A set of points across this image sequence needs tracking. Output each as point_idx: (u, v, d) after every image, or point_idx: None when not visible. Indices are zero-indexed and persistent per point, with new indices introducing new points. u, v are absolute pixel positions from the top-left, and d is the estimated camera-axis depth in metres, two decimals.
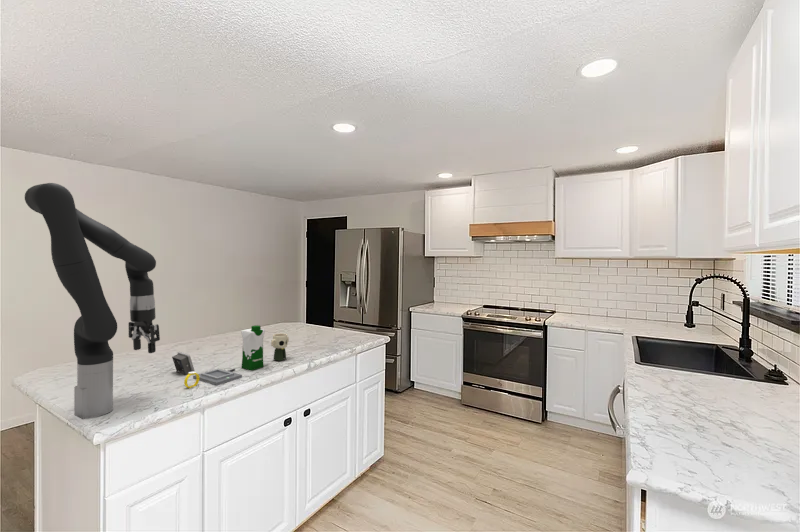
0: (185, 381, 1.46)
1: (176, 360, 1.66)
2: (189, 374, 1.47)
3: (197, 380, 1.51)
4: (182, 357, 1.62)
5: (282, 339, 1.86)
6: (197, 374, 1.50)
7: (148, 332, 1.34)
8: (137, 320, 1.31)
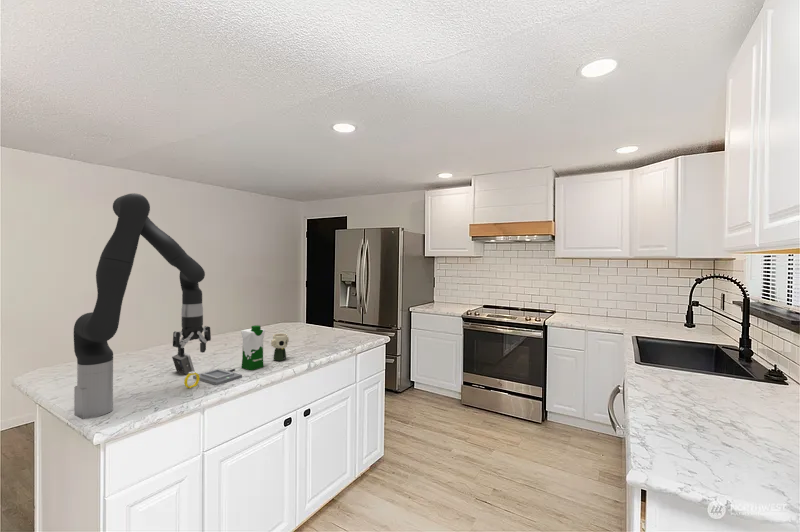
0: (185, 381, 1.46)
1: (176, 360, 1.66)
2: (189, 374, 1.47)
3: (197, 380, 1.51)
4: (182, 357, 1.62)
5: (282, 339, 1.86)
6: (197, 374, 1.50)
7: None
8: (202, 324, 1.48)
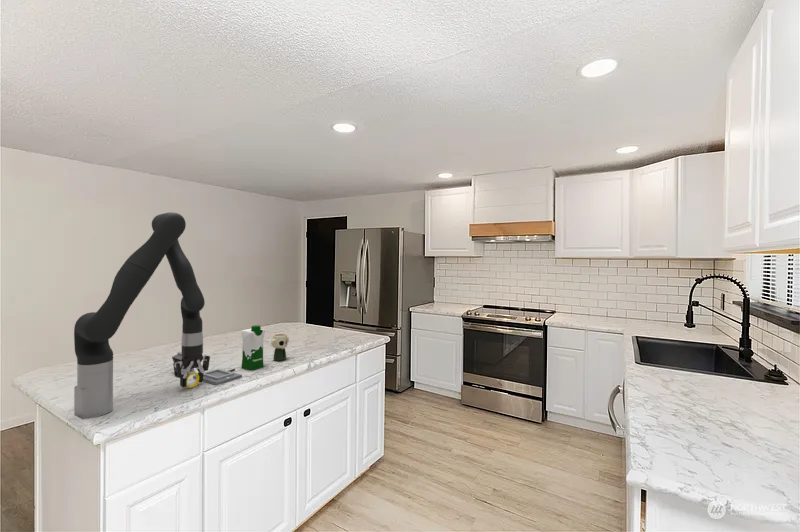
0: None
1: (176, 360, 1.66)
2: (189, 374, 1.47)
3: (197, 380, 1.51)
4: None
5: (282, 339, 1.86)
6: (197, 374, 1.50)
7: None
8: (201, 353, 1.48)
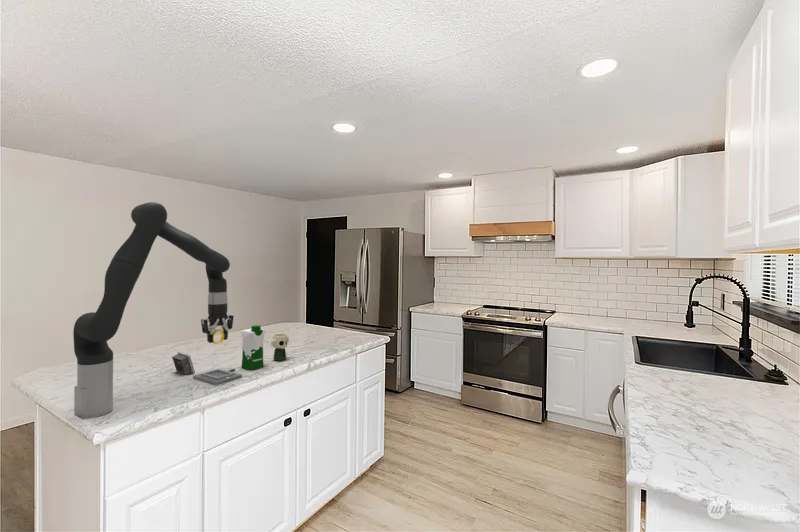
0: None
1: (176, 360, 1.66)
2: (215, 331, 1.57)
3: (222, 337, 1.61)
4: (182, 357, 1.62)
5: (282, 339, 1.86)
6: (222, 331, 1.60)
7: None
8: (226, 311, 1.59)
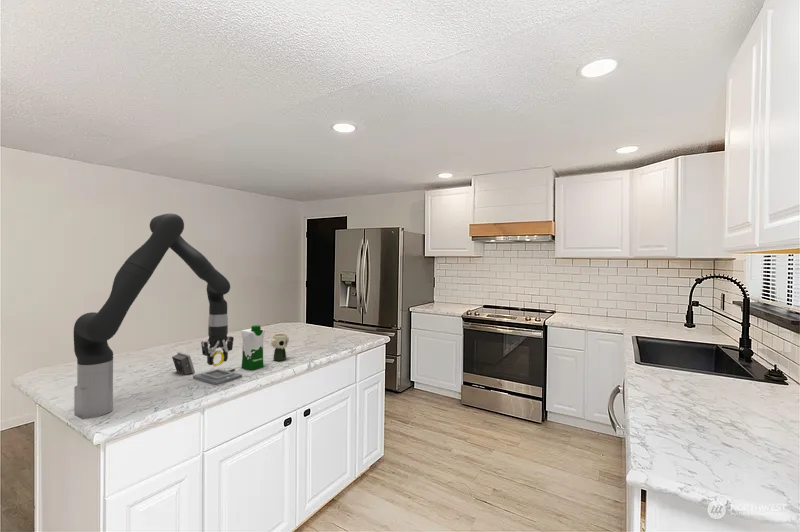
0: None
1: (176, 360, 1.66)
2: (215, 353, 1.58)
3: (222, 359, 1.61)
4: (182, 357, 1.62)
5: (282, 339, 1.86)
6: (222, 353, 1.61)
7: None
8: (226, 333, 1.59)
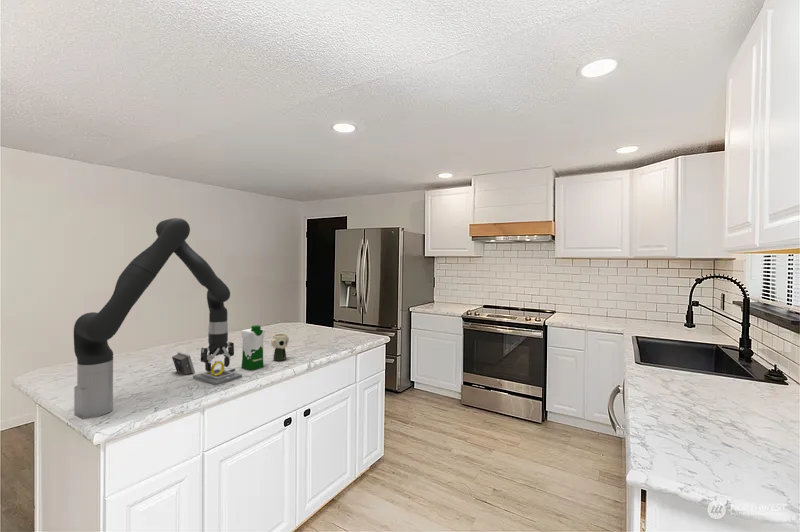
0: (212, 369, 1.56)
1: (176, 360, 1.66)
2: (215, 363, 1.58)
3: (222, 369, 1.61)
4: (182, 357, 1.62)
5: (282, 339, 1.86)
6: (222, 363, 1.61)
7: None
8: (227, 340, 1.59)
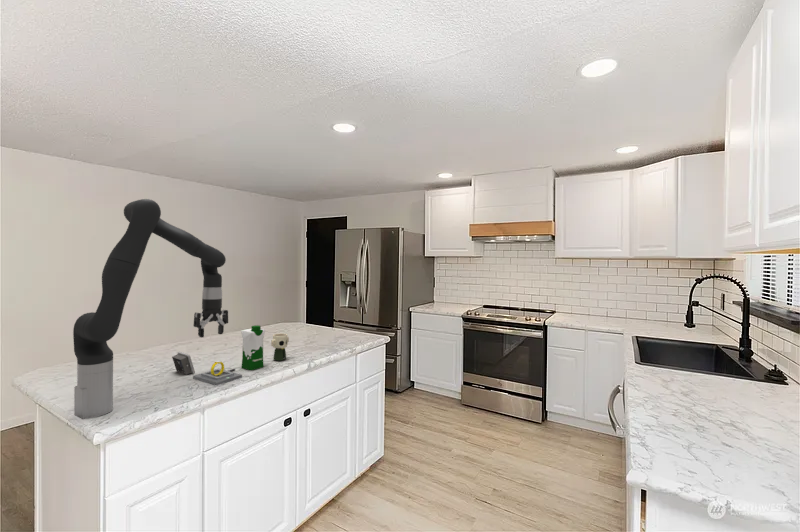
0: (212, 369, 1.56)
1: (176, 360, 1.66)
2: (215, 363, 1.58)
3: (222, 369, 1.61)
4: (182, 357, 1.62)
5: (282, 339, 1.86)
6: (222, 363, 1.61)
7: None
8: (220, 307, 1.57)
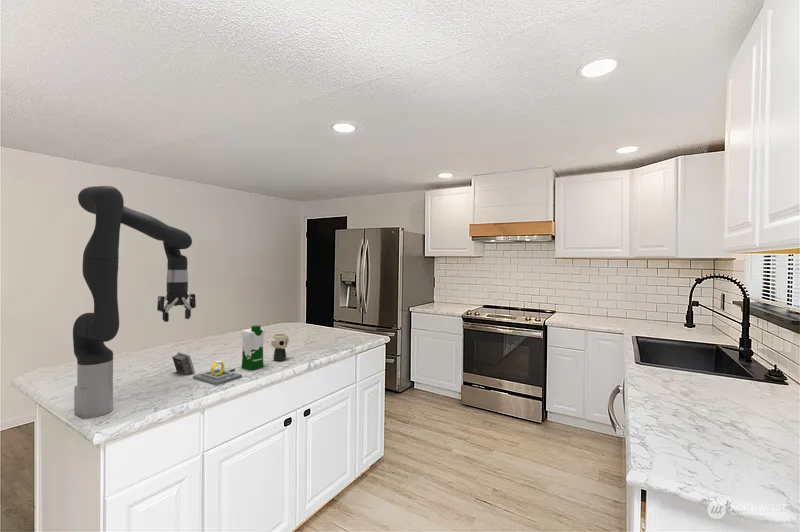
0: (212, 369, 1.56)
1: (176, 360, 1.66)
2: (215, 363, 1.58)
3: (222, 369, 1.61)
4: (182, 357, 1.62)
5: (282, 339, 1.86)
6: (222, 363, 1.61)
7: None
8: (186, 290, 1.51)
